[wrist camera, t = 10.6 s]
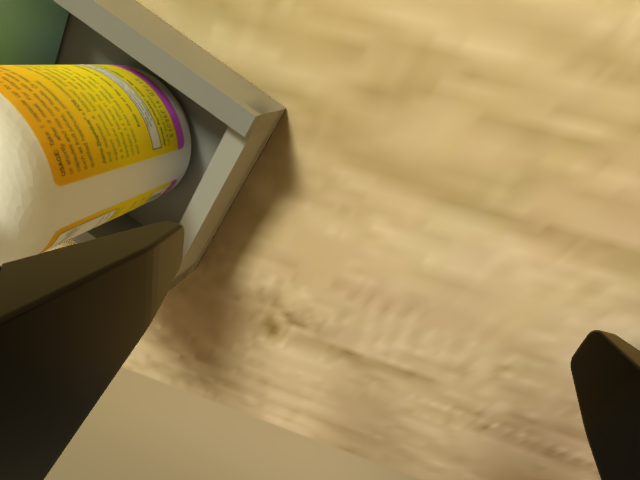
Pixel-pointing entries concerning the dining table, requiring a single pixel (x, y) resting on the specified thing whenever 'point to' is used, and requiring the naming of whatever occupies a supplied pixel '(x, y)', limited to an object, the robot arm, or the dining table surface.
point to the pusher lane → (199, 108)
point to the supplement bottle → (82, 150)
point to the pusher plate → (30, 31)
